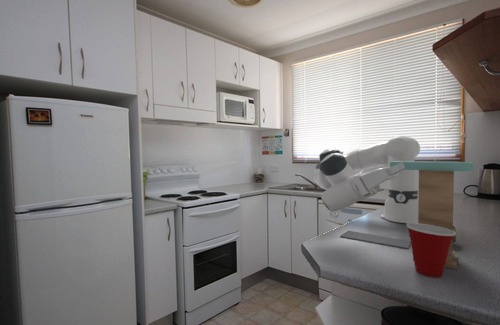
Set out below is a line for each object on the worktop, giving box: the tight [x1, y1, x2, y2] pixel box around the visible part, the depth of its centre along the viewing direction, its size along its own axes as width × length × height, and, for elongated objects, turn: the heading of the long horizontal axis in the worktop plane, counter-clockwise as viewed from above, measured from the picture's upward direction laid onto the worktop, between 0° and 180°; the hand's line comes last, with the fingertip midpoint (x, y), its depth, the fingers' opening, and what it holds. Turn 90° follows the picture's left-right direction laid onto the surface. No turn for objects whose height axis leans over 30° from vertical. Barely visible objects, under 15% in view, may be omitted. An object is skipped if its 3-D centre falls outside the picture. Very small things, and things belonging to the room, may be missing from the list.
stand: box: [412, 170, 458, 270], centre depth 79 cm, size 11×10×26 cm
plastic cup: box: [405, 223, 457, 278], centre depth 70 cm, size 11×11×12 cm
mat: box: [339, 230, 411, 250], centre depth 98 cm, size 9×22×1 cm, turn 53°
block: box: [390, 161, 474, 173], centre depth 80 cm, size 4×20×2 cm, turn 53°
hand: (406, 164), depth 84 cm, fingers open, 8 cm apart
